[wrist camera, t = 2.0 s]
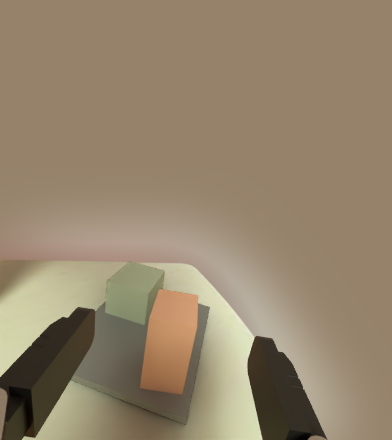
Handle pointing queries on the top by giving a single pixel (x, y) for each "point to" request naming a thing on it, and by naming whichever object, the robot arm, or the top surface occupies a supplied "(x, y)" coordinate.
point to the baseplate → (134, 365)
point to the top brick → (169, 341)
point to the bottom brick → (133, 292)
